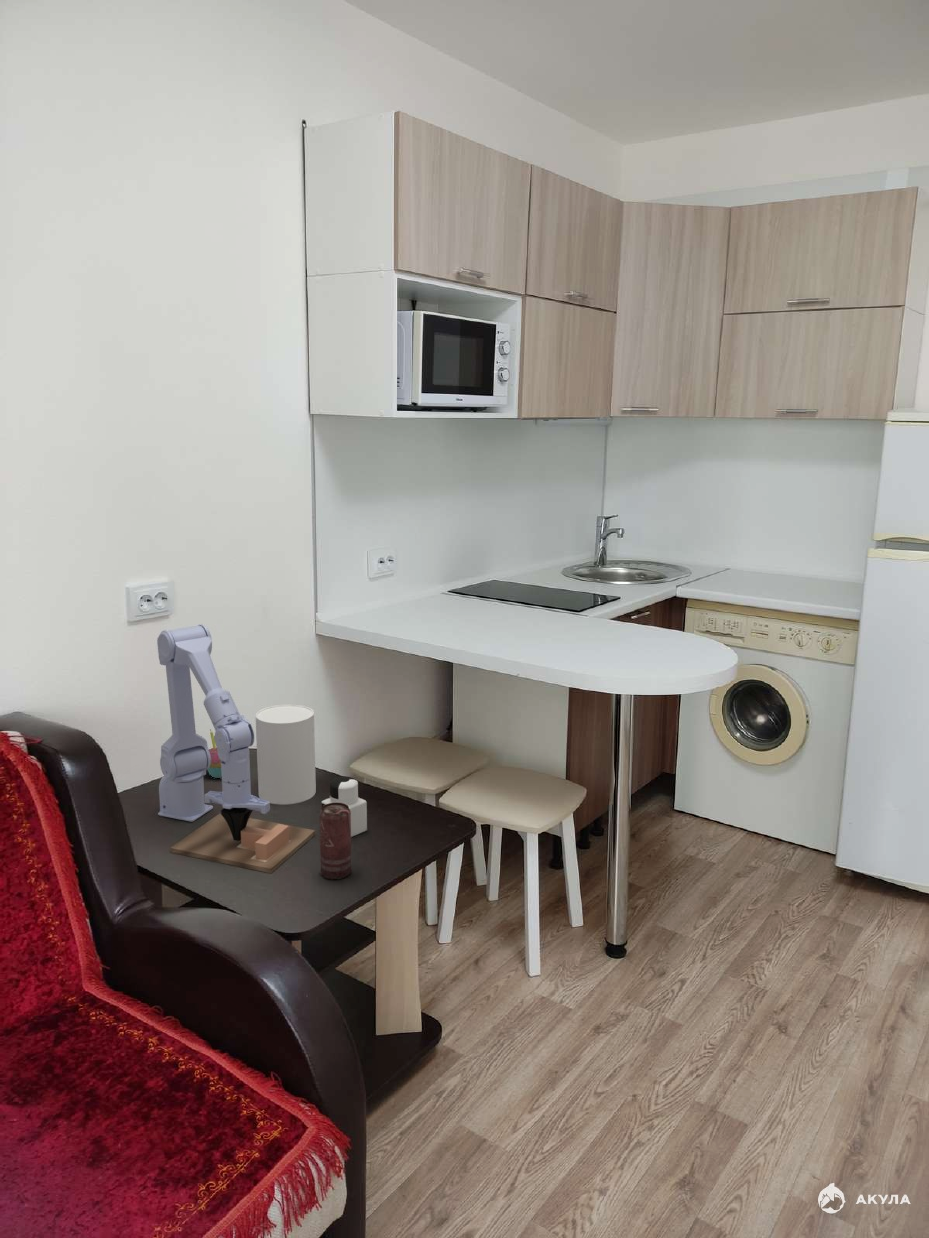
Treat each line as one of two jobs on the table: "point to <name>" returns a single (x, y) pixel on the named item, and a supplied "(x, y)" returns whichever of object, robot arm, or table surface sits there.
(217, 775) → the cupcake
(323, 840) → the can
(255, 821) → the board
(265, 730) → the canister
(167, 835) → the table surface
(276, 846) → the t block
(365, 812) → the medicine bottle
